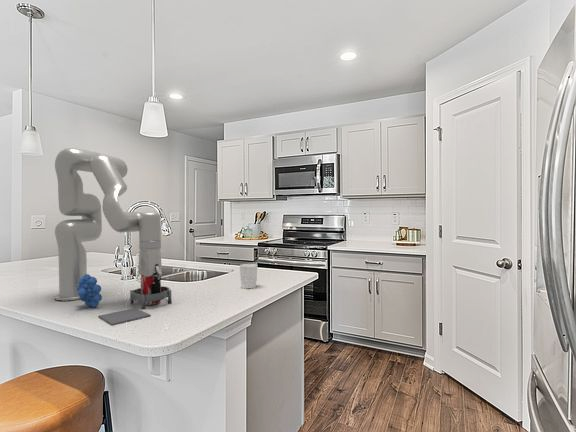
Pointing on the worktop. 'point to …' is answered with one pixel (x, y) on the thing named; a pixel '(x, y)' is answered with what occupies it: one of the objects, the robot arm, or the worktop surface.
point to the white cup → (248, 275)
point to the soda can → (148, 288)
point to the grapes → (89, 291)
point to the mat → (124, 316)
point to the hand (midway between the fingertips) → (150, 292)
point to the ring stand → (150, 296)
